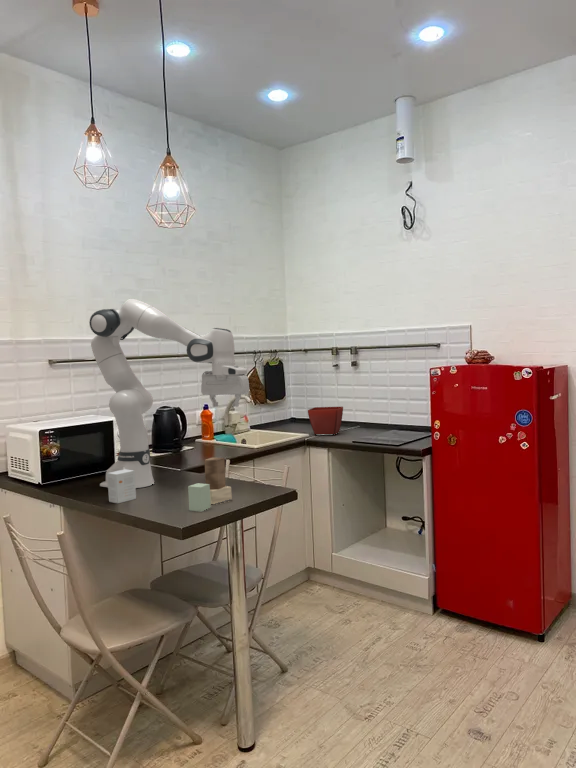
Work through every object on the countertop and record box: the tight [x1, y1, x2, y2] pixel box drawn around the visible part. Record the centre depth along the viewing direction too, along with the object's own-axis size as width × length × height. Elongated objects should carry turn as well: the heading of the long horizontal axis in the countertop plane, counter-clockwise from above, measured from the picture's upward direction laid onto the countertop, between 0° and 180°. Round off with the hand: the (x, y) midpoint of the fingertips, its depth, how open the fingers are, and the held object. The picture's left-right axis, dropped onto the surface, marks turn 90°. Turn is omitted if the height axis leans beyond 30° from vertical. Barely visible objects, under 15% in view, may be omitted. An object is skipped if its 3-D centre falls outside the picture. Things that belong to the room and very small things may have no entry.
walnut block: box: [204, 457, 227, 489], centre depth 202 cm, size 5×5×10 cm
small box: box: [107, 469, 137, 504], centre depth 210 cm, size 8×6×10 cm
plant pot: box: [307, 406, 344, 435], centre depth 368 cm, size 19×19×17 cm
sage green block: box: [187, 482, 212, 513], centre depth 192 cm, size 5×5×8 cm
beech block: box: [210, 485, 233, 504], centre depth 203 cm, size 8×8×5 cm
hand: (225, 406), depth 223 cm, fingers open, 8 cm apart
